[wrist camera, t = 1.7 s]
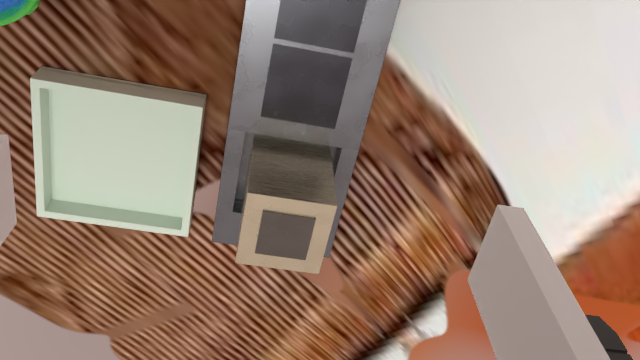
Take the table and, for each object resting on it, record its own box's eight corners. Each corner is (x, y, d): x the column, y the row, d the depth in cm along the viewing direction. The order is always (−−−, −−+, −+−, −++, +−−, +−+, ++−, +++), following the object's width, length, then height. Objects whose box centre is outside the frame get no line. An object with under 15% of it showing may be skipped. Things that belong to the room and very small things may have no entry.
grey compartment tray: (215, 223, 51) (211, 242, 49) (256, -65, 39) (254, -58, 37) (327, 239, 53) (328, 258, 51) (401, -34, 40) (407, -25, 38)
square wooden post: (243, 192, 49) (235, 264, 41) (254, 129, 46) (247, 194, 38) (314, 203, 50) (318, 275, 42) (329, 141, 47) (337, 207, 39)
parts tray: (46, 200, 49) (37, 216, 47) (41, 66, 43) (30, 78, 41) (191, 220, 51) (187, 236, 49) (206, 94, 45) (202, 107, 43)
